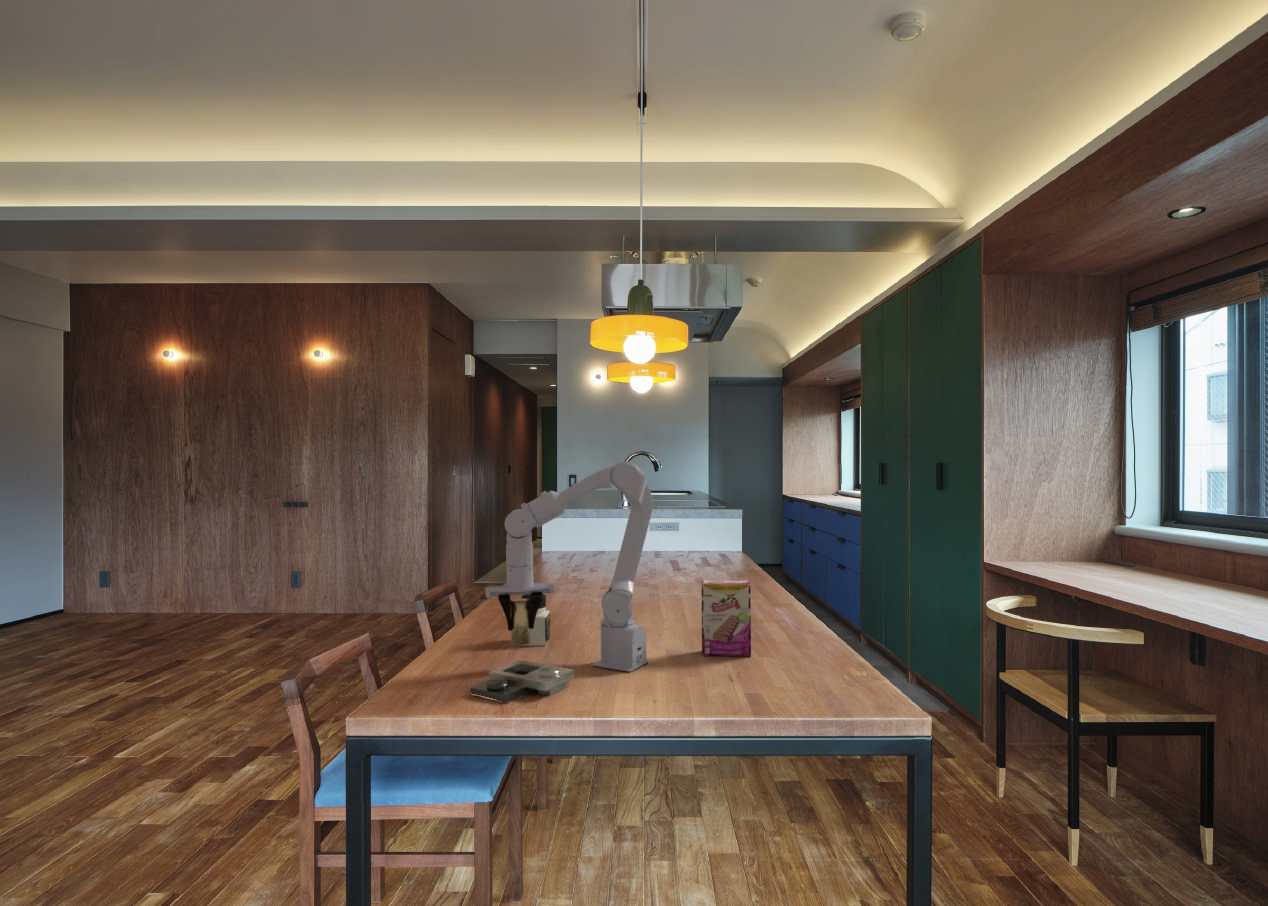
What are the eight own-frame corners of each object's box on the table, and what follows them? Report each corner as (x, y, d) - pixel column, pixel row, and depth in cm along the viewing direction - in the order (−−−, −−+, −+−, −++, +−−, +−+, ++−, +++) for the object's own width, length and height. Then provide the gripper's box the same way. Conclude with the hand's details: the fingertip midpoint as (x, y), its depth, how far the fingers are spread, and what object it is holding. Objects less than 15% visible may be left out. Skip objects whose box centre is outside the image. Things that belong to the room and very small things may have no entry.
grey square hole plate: (489, 687, 126) (488, 668, 126) (519, 674, 134) (519, 656, 134) (545, 699, 119) (545, 678, 119) (574, 684, 126) (573, 665, 127)
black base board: (519, 674, 134) (519, 663, 134) (553, 681, 129) (553, 669, 129) (470, 695, 121) (470, 683, 122) (506, 703, 117) (506, 690, 117)
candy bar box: (702, 656, 144) (700, 583, 145) (701, 650, 149) (700, 579, 150) (752, 657, 143) (750, 583, 143) (750, 651, 148) (749, 579, 148)
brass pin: (534, 641, 139) (533, 599, 139) (522, 645, 135) (521, 603, 135) (519, 639, 141) (519, 597, 141) (507, 643, 137) (507, 601, 137)
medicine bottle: (546, 646, 155) (545, 596, 155) (516, 646, 155) (516, 596, 156) (550, 638, 162) (549, 590, 163) (522, 638, 162) (521, 591, 163)
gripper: (551, 560, 144) (552, 621, 144) (484, 564, 140) (485, 627, 140) (555, 565, 137) (556, 629, 137) (485, 569, 134) (486, 634, 133)
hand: (520, 628), depth 138 cm, fingers closed on brass pin, 4 cm apart
